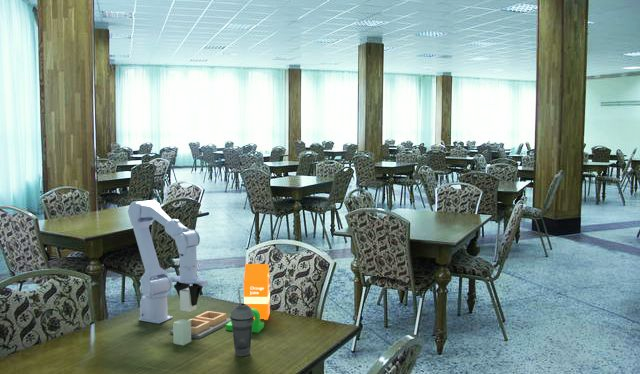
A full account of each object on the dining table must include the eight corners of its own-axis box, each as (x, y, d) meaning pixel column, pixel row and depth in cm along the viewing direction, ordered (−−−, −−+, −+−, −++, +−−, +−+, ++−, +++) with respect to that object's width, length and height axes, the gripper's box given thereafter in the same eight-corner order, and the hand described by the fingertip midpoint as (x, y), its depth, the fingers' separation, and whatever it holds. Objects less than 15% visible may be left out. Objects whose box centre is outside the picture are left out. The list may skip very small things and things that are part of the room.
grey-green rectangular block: (180, 310, 199) (179, 290, 199) (187, 307, 203) (187, 287, 202) (189, 311, 198) (188, 291, 197) (196, 308, 201) (196, 288, 201)
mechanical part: (264, 327, 204) (263, 305, 203) (258, 333, 198) (258, 310, 197) (232, 325, 206) (231, 303, 206) (225, 330, 201) (225, 308, 200)
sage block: (173, 343, 187) (173, 322, 187) (181, 339, 191) (180, 319, 190) (183, 345, 186) (183, 324, 185) (191, 341, 189) (190, 320, 189)
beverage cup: (244, 359, 174) (243, 294, 172) (225, 354, 178) (224, 290, 176) (259, 351, 180) (258, 289, 178) (240, 347, 184) (240, 285, 182)
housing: (170, 333, 196) (170, 325, 196) (205, 317, 215) (205, 309, 214) (199, 338, 192) (199, 330, 191) (232, 321, 210) (232, 313, 209)
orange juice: (267, 319, 212) (267, 266, 210) (243, 319, 212) (243, 266, 210) (270, 313, 220) (269, 261, 218) (246, 313, 220) (246, 261, 218)
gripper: (163, 266, 199) (164, 304, 200) (198, 270, 192) (198, 310, 194) (177, 262, 205) (178, 299, 206) (210, 266, 199) (211, 304, 200)
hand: (188, 304), depth 200 cm, fingers closed on grey-green rectangular block, 4 cm apart
